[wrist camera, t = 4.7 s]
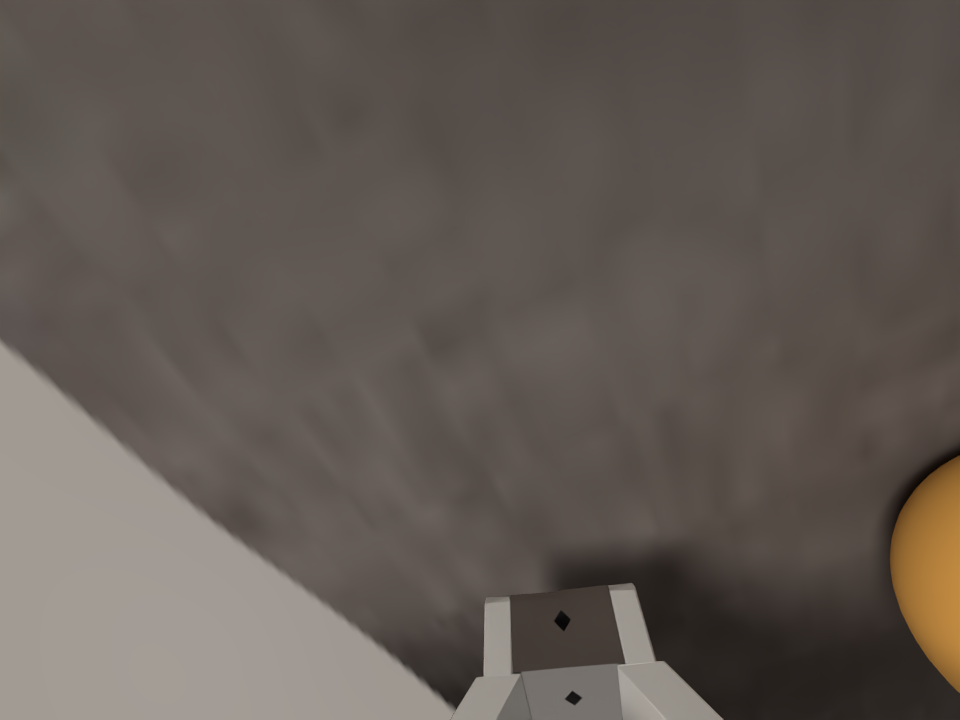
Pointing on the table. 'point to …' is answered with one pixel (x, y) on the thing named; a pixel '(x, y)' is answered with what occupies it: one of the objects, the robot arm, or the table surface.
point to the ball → (931, 567)
